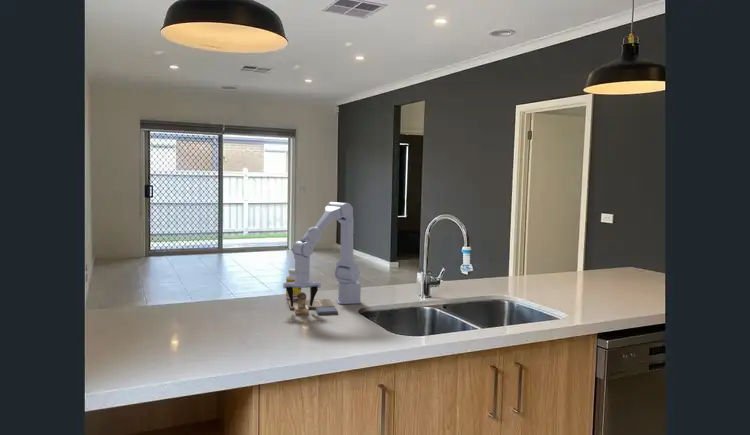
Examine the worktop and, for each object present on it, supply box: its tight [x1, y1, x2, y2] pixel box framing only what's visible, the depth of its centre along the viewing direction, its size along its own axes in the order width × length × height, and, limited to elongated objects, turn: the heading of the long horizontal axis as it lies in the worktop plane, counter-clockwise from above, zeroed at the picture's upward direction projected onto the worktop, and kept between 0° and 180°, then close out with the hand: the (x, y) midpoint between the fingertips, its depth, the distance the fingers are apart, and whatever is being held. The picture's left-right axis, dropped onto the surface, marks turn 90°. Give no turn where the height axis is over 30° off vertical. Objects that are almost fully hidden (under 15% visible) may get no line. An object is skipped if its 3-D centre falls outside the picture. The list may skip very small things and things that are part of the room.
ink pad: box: [314, 306, 339, 316], centre depth 214 cm, size 8×8×1 cm
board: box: [287, 298, 336, 311], centre depth 224 cm, size 18×13×1 cm
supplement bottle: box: [285, 268, 302, 300], centre depth 236 cm, size 7×7×13 cm
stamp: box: [294, 291, 309, 316], centre depth 211 cm, size 5×5×8 cm
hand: (301, 305), depth 211 cm, fingers open, 7 cm apart
